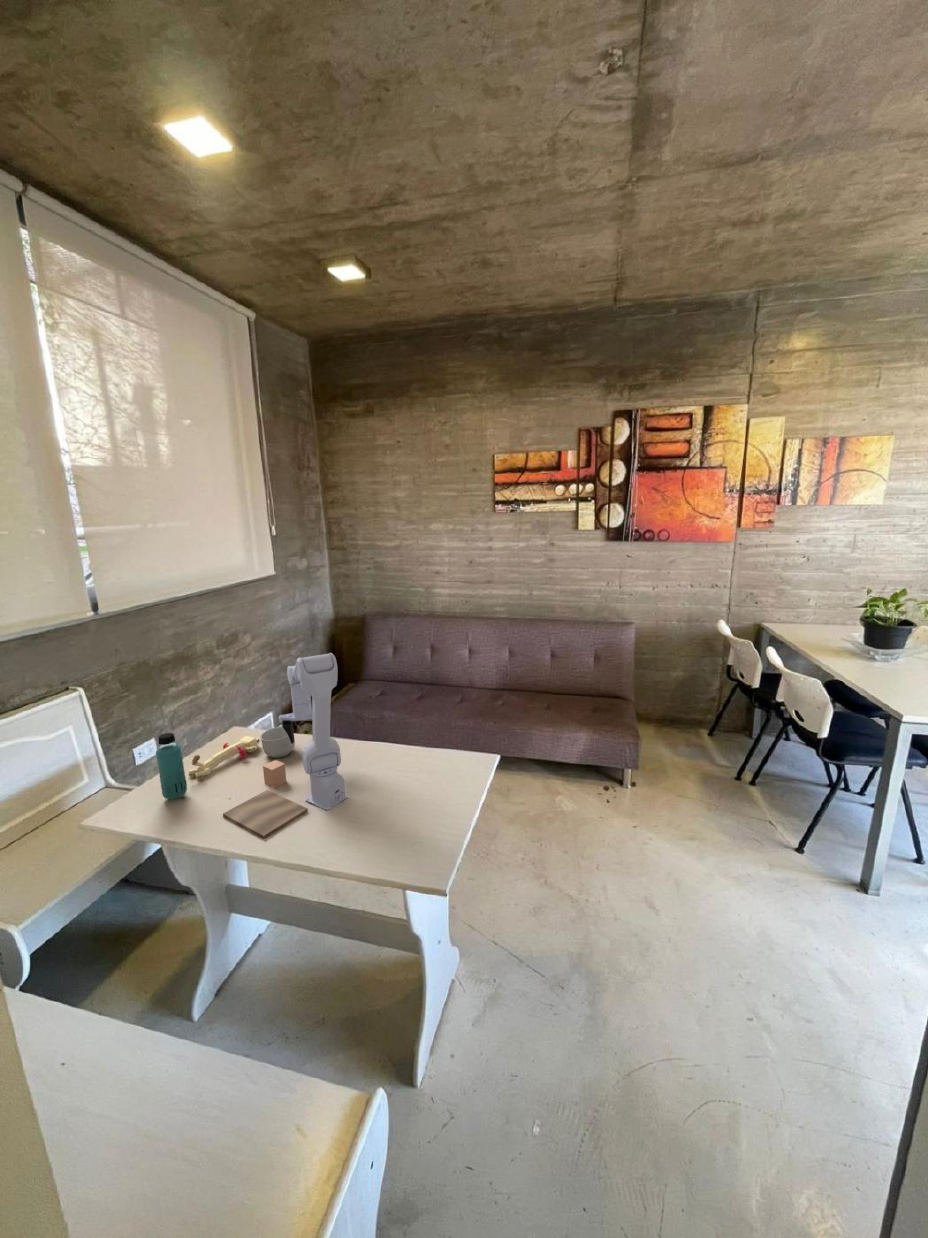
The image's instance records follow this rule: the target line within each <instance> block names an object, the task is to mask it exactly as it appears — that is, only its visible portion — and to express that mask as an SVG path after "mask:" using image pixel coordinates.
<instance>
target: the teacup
mask: <svg viewBox="0 0 928 1238" xmlns="http://www.w3.org/2000/svg"><path fill="white" fill-rule="evenodd" d="M282 725H283V724H279V726H276V727H272V728H270V729H267V730H265V731H263V732H262V733H261V734H260V737H259V739H260V743H261V746H262V750H263V753H264V754H265V755H266V756H268V757H271V758H274V759H277V758H282V757H283V758H284V757H285V756H288V755H289V754H290V753H291V752H292V751H293V749H294V748H295V746H296V745H295V744H296V743H295V738H294V743H292V744H291V741H290V738H289V736H288V734H287V733H286V731H285V730H284V729H283V727H282ZM293 732H294V729H293ZM294 733H295V732H294Z"/></svg>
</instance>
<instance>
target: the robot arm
mask: <svg viewBox="0 0 928 1238" xmlns="http://www.w3.org/2000/svg"><path fill="white" fill-rule="evenodd" d="M286 669H287V670H286V676H287V681H288V683H289V685H290V692H291V693H290V694H291V702H292V703H291V705H292V712H291V713H286V714H280V715H279V716H278V723H279V724H281V725H282V727H283V729H284V730H285V731H286V733H287V734H288V736H289V738H290V741H291V744H292V743H294V739H295V732H293V730H294V722H299V721H300V722H301V721H311V720H312V722H311V723H312V725H311V726H312V728H311V729H312V739H311V741H309V742H308V743H307V744H306V745H305V746H303V750H302V756H301V761H302V766H303V770H304V773H306V774H307V775H309V781H310V782H309V783H310V791H311V795H309V796H307V797H306V798H304V800H305V802H307V803H309V804H311V805H314V806H315V807H318V808H321V809H323V810H325V811H329V810H330V809H332V808H334V807H335V806H336V805H338V804H340V803H341V802H343V801H344V800H345V799H347V798H348V796H349V795H347V794H346V787H345V778H344V777H343V776H342V775H341V774H340V773H338V767H340V765H341V762H342V756H341V748H340V745H339V743H338V741H337V740H336V739H335V738H333V737H331V700H332V699H331V698H332V690H333V689H334V688H336V687H337V685H338V674H339V673H338V663H337V659H336V656H335V655H334V654H333V653H332V652H329V653H324V654H318V655H312V656H311V655H310V656H305V657H298V658H297V659H296V661H295V664H294V665H288V666H287V668H286Z"/></svg>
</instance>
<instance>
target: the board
mask: <svg viewBox="0 0 928 1238" xmlns="http://www.w3.org/2000/svg"><path fill="white" fill-rule="evenodd" d="M308 812H309V809H308V808H307V807H306V806H303V805H301V804H299V803H296V802H295V801H293V800H290V799H289V798H286V797H283V796H282V795H279V794H277V793H275V792H273V791H271V790H269V789H266V790H264V791H262V792H259V794H256V795H254V796H253V797H251V798H250V799H247V800H246V801H244V802H242V803H240V804H238V805H236V806H235V807H233V808H231V809H229V810H227V811H225V812H223V813H222V818H225V819H226V820H228V821H230V822H232V823H234V824H235V825H236V826H239V827H240V828H243V829H244V830H246V831H248V832H249V833H252V834H253V835H256V836H257V837H259V838H261V839H263V840H265V839H266V838H268V837H270V836H271V835H273V834H274V833H276V832H278V831H279V830H281V829H283V828H284V827H286V826H288V825H289V824H291V823H292V822H293V821H296V820H297V819H298V818H300V817H302V816H303V815H305V814H306V813H308Z"/></svg>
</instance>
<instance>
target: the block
mask: <svg viewBox="0 0 928 1238" xmlns="http://www.w3.org/2000/svg"><path fill="white" fill-rule="evenodd" d="M262 770H263V780H264V785H267V786H268V787H271V788H273V789H274V788H276V787H278V786H280V785H282V784H284V783H286V782H287V776H286V775H287V774H286V765H285V762H281V761H279V760H277V759H275V760H273V761H271V762H269V763H266V764H264V765H262Z"/></svg>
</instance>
